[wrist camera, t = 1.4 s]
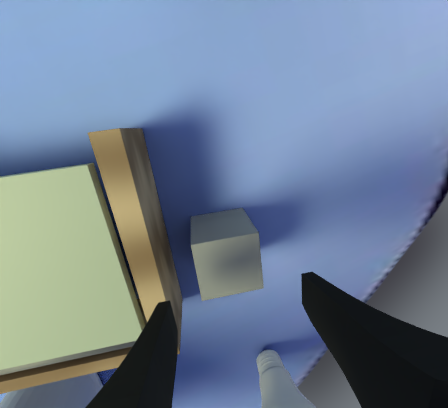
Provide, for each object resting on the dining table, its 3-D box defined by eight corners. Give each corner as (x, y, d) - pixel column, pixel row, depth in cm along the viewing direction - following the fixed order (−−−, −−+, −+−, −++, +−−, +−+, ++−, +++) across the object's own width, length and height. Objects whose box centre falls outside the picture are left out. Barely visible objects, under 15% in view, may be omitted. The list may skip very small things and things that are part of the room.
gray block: (247, 252, 21) (263, 288, 16) (199, 261, 20) (202, 300, 16) (242, 207, 19) (258, 232, 15) (190, 216, 19) (190, 244, 14)
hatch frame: (182, 298, 21) (179, 353, 16) (-15, 339, 20) (-88, 413, 15) (142, 128, 16) (119, 128, 11) (-127, 164, 15) (-298, 184, 10)
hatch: (148, 335, 16) (146, 346, 15) (-52, 378, 15) (-67, 393, 14) (93, 162, 12) (86, 165, 11) (-187, 203, 11) (-218, 209, 10)
